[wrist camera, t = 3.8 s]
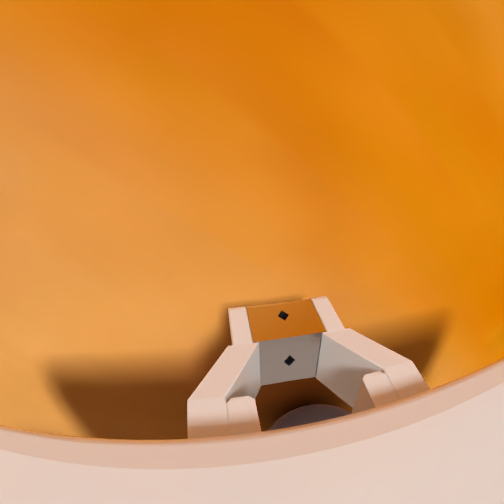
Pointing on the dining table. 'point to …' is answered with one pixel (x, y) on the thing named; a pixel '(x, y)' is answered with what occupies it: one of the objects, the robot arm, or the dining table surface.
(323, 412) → the blue ball
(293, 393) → the dining table surface
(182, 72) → the dining table surface
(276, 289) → the dining table surface
